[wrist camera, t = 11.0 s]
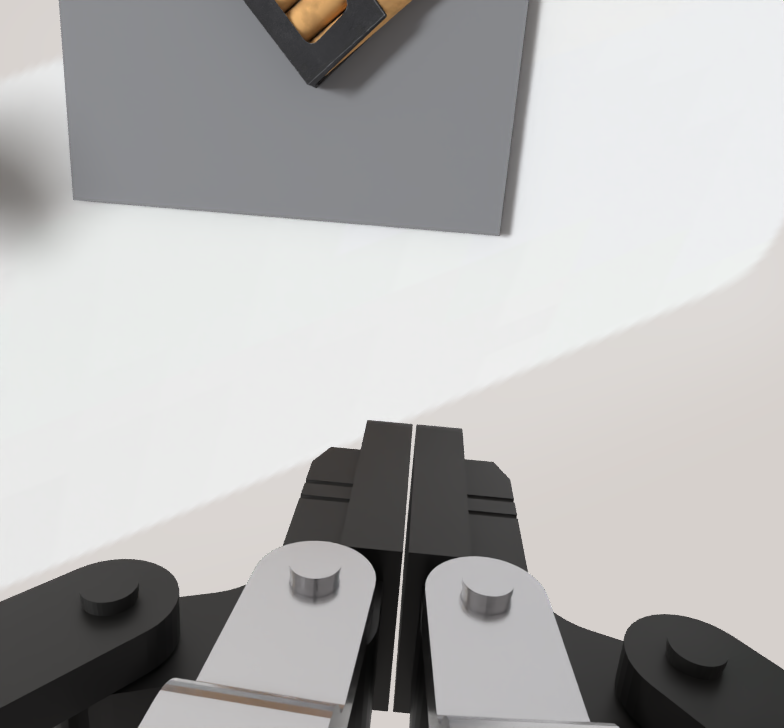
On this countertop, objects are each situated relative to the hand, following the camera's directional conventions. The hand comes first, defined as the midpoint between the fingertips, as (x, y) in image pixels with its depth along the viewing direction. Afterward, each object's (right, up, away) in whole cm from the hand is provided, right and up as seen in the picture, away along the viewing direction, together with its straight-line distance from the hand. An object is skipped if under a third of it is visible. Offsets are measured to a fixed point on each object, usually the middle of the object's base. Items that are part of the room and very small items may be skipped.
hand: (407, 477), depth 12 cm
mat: (-6, +19, +27) cm, 33 cm away
